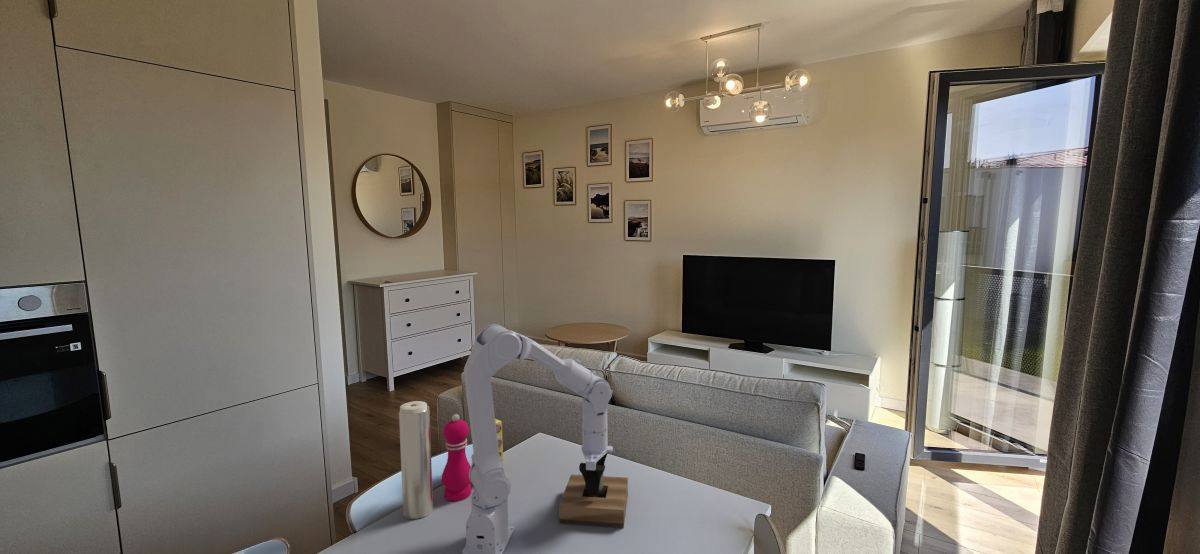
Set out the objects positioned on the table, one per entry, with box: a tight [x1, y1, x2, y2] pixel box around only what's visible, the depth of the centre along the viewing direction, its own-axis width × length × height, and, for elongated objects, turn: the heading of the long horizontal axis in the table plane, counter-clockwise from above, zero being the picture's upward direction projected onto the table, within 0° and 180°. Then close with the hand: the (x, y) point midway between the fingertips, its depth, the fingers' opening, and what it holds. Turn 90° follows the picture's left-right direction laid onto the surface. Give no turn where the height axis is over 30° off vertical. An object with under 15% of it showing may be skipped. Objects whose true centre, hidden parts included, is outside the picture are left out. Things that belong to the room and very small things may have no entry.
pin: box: [586, 473, 604, 498], centre depth 110 cm, size 4×4×8 cm
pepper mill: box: [441, 413, 472, 502], centre depth 116 cm, size 7×7×20 cm
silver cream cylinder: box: [398, 400, 434, 520], centre depth 108 cm, size 6×6×25 cm
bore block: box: [558, 474, 629, 529], centre depth 110 cm, size 14×14×4 cm
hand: (595, 486), depth 110 cm, fingers open, 7 cm apart
